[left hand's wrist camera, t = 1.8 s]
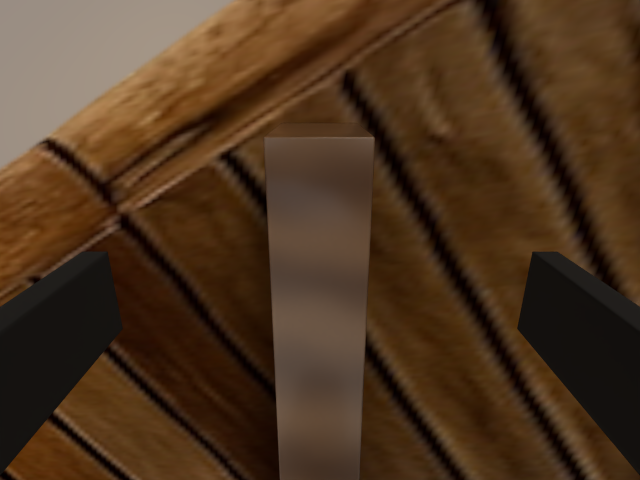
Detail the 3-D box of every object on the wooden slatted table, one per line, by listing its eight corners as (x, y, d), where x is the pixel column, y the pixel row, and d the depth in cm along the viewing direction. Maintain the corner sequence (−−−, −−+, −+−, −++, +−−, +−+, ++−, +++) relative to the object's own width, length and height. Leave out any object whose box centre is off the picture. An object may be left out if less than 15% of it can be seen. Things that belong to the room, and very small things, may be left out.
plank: (281, 122, 25) (263, 137, 17) (357, 122, 25) (375, 137, 17) (296, 595, 41) (290, 715, 33) (342, 595, 41) (348, 715, 33)
